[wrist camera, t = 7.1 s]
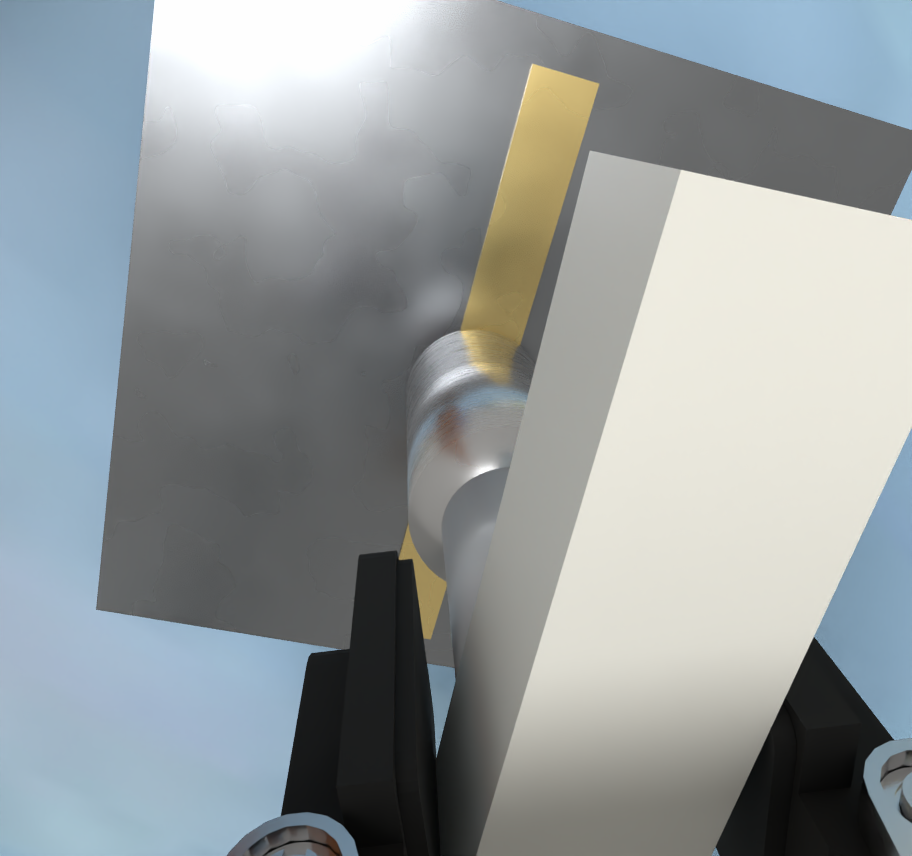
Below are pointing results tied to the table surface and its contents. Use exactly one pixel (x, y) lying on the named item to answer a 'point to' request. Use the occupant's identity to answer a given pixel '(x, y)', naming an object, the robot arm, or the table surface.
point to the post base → (379, 277)
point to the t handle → (668, 511)
